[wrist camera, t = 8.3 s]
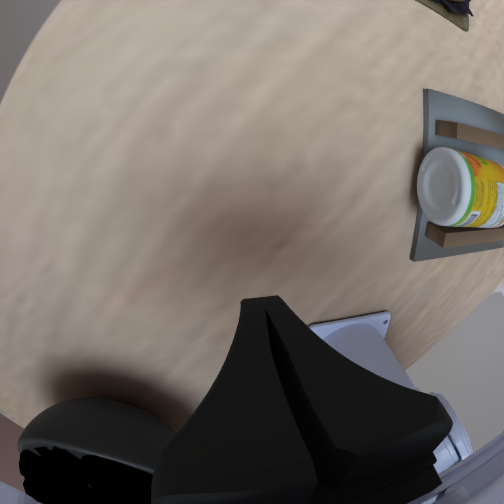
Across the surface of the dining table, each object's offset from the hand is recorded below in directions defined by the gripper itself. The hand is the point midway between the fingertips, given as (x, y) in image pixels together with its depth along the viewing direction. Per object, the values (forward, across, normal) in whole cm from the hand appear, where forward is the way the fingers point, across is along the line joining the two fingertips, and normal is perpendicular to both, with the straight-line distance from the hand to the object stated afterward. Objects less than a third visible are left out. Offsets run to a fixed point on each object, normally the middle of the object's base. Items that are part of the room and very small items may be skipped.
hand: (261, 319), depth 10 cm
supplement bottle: (+7, -13, -3) cm, 15 cm away
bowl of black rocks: (+10, +15, +21) cm, 28 cm away
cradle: (+10, -21, -3) cm, 24 cm away
